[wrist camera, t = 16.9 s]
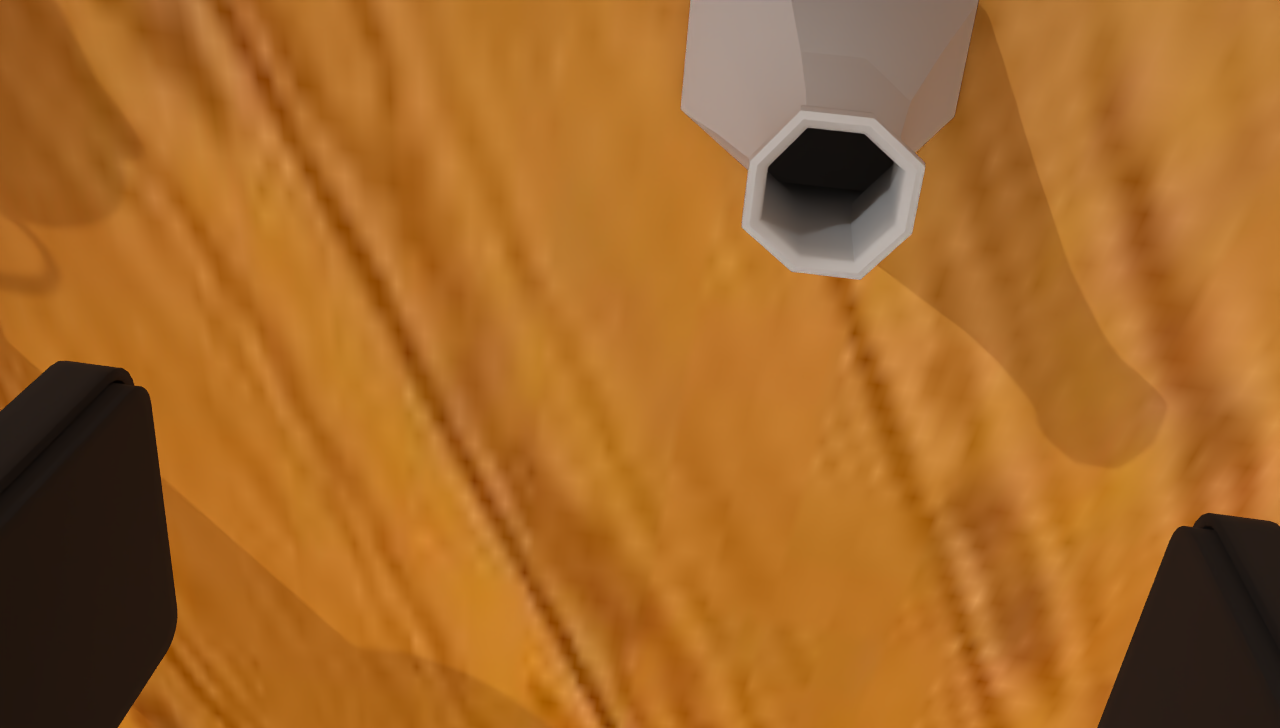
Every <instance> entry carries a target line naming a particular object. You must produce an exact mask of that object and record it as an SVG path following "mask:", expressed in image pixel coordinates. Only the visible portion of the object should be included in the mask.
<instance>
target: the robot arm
mask: <svg viewBox="0 0 1280 728" xmlns="http://www.w3.org/2000/svg"><path fill="white" fill-rule="evenodd" d="M176 624H177V603H176V596H175V588H174V580H173V572H172V564H171V556H170V548H169V540H168V532H167V524H166V516H165V509H164V501H163V493H162V485H161V477H160V469H159V461H158V453H157V445H156V437H155V429H154V422H153V414H152V406H151V400H150V396H149V394H148V392H147V390H146V389H145V388H143V387H141V386H134V383H133V379H132V378H131V376H130V374H129V372H127V371H126V370H124V369H123V368H116V367H109V366H101V365H94V364H86V363H79V362H71V361H58V362H56V363H55V364H53V365H52V366H50V367H49V368H48V369H47V370H46V371H45V372H44V373H42V374H41V375H40V376H39V377H38V378H37V379H36V380H35V381H34V382H32V383H31V384H30V385H29V386H28V387H27V388H26V389H25V390H24V391H22V392H21V393H20V394H19V395H18V396H17V397H16V398H15V399H14V400H13V401H11V402H10V403H9V404H8V405H7V406H6V407H5V408H4V409H3V410H1V411H0V728H118V726H119V725H120V723H121V722H122V720H123V719H124V717H125V716H126V714H127V713H128V711H129V709H130V708H131V706H132V705H133V703H134V702H135V700H136V699H137V697H138V696H139V694H140V692H141V691H142V689H143V688H144V686H145V685H146V683H147V682H148V680H149V679H150V677H151V676H152V674H153V672H154V671H155V669H156V668H157V666H158V665H159V663H160V662H161V660H162V659H163V657H164V655H165V654H166V652H167V651H168V649H169V647H170V645H171V642H172V640H173V637H174V633H175V629H176ZM1098 728H1280V527H1279V525H1278V524H1277V523H1274V522H1271V521H1265V520H1258V519H1250V518H1243V517H1235V516H1228V515H1220V514H1213V513H1207V514H1204V515H1202V516H1201V517H1200V518H1199V519H1198V520H1197V521H1196V522H1195V524H1194V526H1193V527H1187V526H1182V527H1179V528H1178V529H1177V530H1176V531H1175V532H1174V533H1173V535H1172V537H1171V539H1170V541H1169V544H1168V547H1167V549H1166V552H1165V554H1164V557H1163V559H1162V562H1161V565H1160V567H1159V570H1158V572H1157V575H1156V578H1155V580H1154V583H1153V585H1152V588H1151V590H1150V593H1149V596H1148V598H1147V601H1146V603H1145V606H1144V609H1143V611H1142V614H1141V616H1140V619H1139V622H1138V624H1137V627H1136V629H1135V632H1134V634H1133V637H1132V640H1131V642H1130V645H1129V647H1128V650H1127V653H1126V655H1125V658H1124V660H1123V663H1122V665H1121V668H1120V671H1119V673H1118V676H1117V678H1116V681H1115V684H1114V686H1113V689H1112V691H1111V694H1110V697H1109V699H1108V702H1107V704H1106V707H1105V709H1104V712H1103V715H1102V717H1101V720H1100V722H1099V725H1098Z"/></svg>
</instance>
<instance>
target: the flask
mask: <svg viewBox="0 0 1280 728" xmlns="http://www.w3.org/2000/svg"><path fill="white" fill-rule="evenodd" d="M978 1H979V0H691V2H690V13H689V24H688V35H687V46H686V57H685V68H684V79H683V90H682V100H681V110H682V111H683V112H684V113H685V114H686V115H688V116H689V117H690V118H691V119H692V120H693V121H694V122H695V123H696V124H698V125H699V126H700V127H701V128H702V129H703V130H704V131H705V132H706V133H708V134H709V135H710V136H711V137H712V138H713V139H714V140H715V141H716V142H717V143H719V144H720V145H721V146H722V147H723V148H724V149H725V150H726V151H727V152H729V153H730V154H731V155H732V156H733V157H734V158H735V159H736V160H737V161H738V162H740V163H741V164H742V165H743V166H744V167H745V168H746V169H747V170H748V176H747V184H746V192H745V200H744V208H743V216H742V228H743V229H744V230H745V231H746V232H747V233H749V234H750V235H751V236H752V237H753V238H754V239H755V240H757V241H758V242H759V243H760V244H761V245H762V246H763V247H764V248H766V249H767V250H768V251H769V252H770V253H771V254H772V255H773V256H775V257H776V258H777V259H778V260H779V261H780V262H781V263H782V264H784V265H785V266H786V267H787V268H788V269H789V270H790V271H791V272H799V273H808V274H816V275H825V276H833V277H842V278H850V279H859V280H860V279H862V278H863V277H864V276H865V275H866V274H867V273H868V272H869V271H871V270H872V269H873V268H874V267H875V266H876V265H877V264H878V263H880V262H881V261H882V260H883V259H884V258H885V257H886V256H887V255H889V254H890V253H891V252H892V251H893V250H894V249H895V248H896V247H898V246H899V245H900V244H901V243H902V242H903V241H904V240H905V239H907V238H908V237H909V236H910V235H911V234H912V231H913V226H914V221H915V216H916V211H917V206H918V201H919V196H920V191H921V186H922V181H923V176H924V171H925V162H924V161H923V160H922V159H921V158H920V157H919V156H918V155H917V154H916V152H917V151H918V150H919V149H920V148H921V147H922V146H923V145H924V144H925V143H926V142H927V141H928V140H930V139H931V138H932V137H933V136H934V135H935V134H936V133H937V132H938V131H939V130H940V129H941V128H942V127H944V126H945V125H946V124H947V123H948V122H949V121H950V120H951V119H952V118H953V117H954V116H955V111H956V106H957V102H958V97H959V92H960V87H961V82H962V78H963V73H964V68H965V63H966V58H967V54H968V49H969V44H970V39H971V34H972V30H973V25H974V20H975V15H976V10H977V6H978Z"/></svg>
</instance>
